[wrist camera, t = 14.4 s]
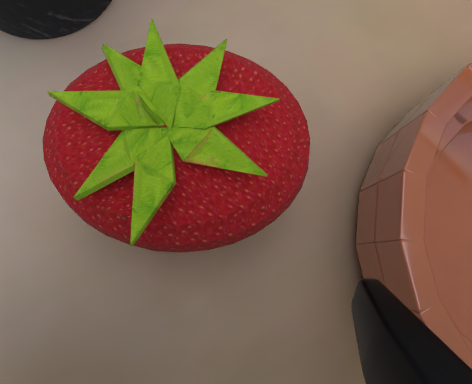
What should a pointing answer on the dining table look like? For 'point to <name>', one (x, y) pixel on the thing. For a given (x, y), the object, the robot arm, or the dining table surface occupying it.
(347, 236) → the dining table surface
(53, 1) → the travel mug
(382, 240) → the pot
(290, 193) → the strawberry
